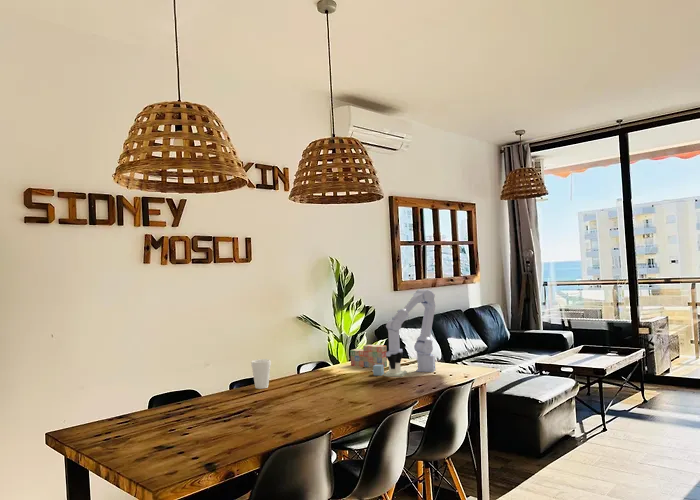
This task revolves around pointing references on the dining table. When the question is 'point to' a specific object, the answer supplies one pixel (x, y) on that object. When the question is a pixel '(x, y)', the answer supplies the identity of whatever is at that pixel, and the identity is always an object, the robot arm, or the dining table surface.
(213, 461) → the dining table surface
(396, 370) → the brick cream
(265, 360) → the foam cup
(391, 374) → the build plate
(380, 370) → the brick blue
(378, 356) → the stack of blocks
